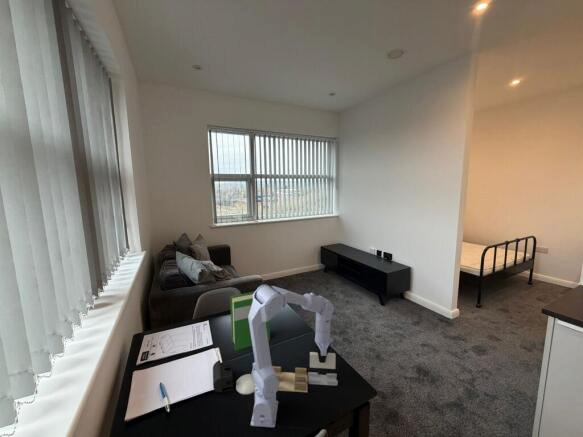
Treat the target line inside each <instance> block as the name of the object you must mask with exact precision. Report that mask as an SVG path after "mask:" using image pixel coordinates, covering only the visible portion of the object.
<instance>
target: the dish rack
mask: <svg viewBox="0 0 583 437" xmlns="http://www.w3.org/2000/svg"><path fill="white" fill-rule="evenodd" d="M272 367H273V369H274V371H275V374H276V378H277V379H278V380H279V383H280V385H279V389H278V391H277V392H279V391H281V392H292V393H293V392H298V393H308V373H307V368H306V367H295V368H294V369H295V370H294V372H286V371H284V372H283V371H282V367H281V366H275V365H272Z"/></svg>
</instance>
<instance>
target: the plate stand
mask: <svg viewBox="0 0 583 437" xmlns="http://www.w3.org/2000/svg"><path fill="white" fill-rule="evenodd" d="M337 375H338V374H337V373H333V372H331V373H327V372H326V374H319V372H314V371H313V372H311V371H308V372H307V377H308V378H307V384H308V385H322V386H338V383H339V382H338V380H337V377H338V376H337Z"/></svg>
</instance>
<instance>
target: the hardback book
mask: <svg viewBox="0 0 583 437" xmlns="http://www.w3.org/2000/svg"><path fill="white" fill-rule="evenodd" d="M254 292H255V291H251V292H246V293H241V294H236V295H230V328H231V330H230V331H231V343H232V344H233V343H234V351H235V352H236V351H238V350H243V349H246V348H249V347H253V346H252V339H251V333H250V326H249V320H248V316H249V312H250V309H251V306H252V302H253V294H254ZM270 321H271V319H270V320H269V321H268V322H266V329H267V336H268V342H269V341H271V327H270V326H271V322H270Z"/></svg>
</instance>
